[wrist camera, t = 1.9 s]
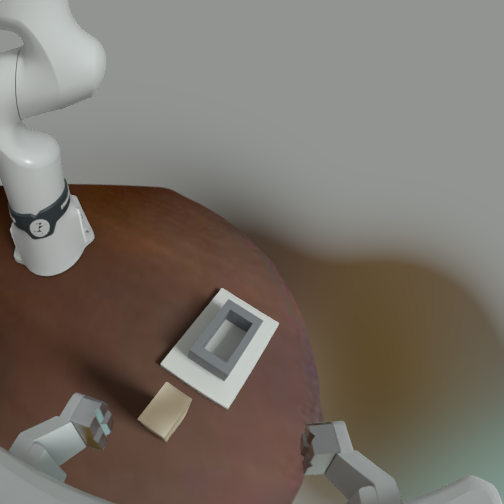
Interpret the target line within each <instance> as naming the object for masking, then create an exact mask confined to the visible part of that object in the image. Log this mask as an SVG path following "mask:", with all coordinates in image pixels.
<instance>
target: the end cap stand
mask: <svg viewBox="0 0 504 504" xmlns="http://www.w3.org/2000/svg"><path fill="white" fill-rule="evenodd" d="M278 325H279V323H278V322H276V321H275V320H273V319H271V318H270V317H268V316H266V315H265V314H263V313H262V312H260V311H258V310H257V309H255V308H253V307H252V306H250V305H249V304H247V303H245V302H244V301H242V300H241V299H239V298H237V297H236V296H234V295H233V294H231V293H229V292H228V291H226V290H225V289H223V288H221V290H220V291H219V292H218V293H217V295H216V296H215V297H214V298H213V299H212V301H211V302H210V303H209V304H208V306H207V307H206V308H205V309H204V311H203V312H202V313H201V314H200V315H199V317H198V318H197V319H196V320H195V322H194V323H193V324H192V325H191V327H190V328H189V329H188V330H187V332H186V333H185V334H184V335H183V336H182V338H181V339H180V340H179V341H178V343H177V344H176V345H175V346H174V348H173V349H172V350H171V351H170V352H169V354H168V355H167V356H166V357H165V359H164V360H163V361H162V362H161V364H160V366H161V367H163V368H164V369H165V370H167V371H168V372H170V373H171V374H172V375H174V376H175V377H177V378H178V379H179V380H181V381H182V382H184V383H185V384H187V385H188V386H190V387H191V388H193V389H194V390H196V391H197V392H199V393H200V394H202V395H204V396H205V397H207V398H208V399H210V400H211V401H213V402H215V403H216V404H218V405H220V406H221V407H223V408H225V409H226V410H227V409H228V408H229V406H230V405H231V403H232V402H233V400H234V399H235V397H236V395H237V394H238V392H239V391H240V389H241V387H242V386H243V384H244V383H245V381H246V379H247V378H248V376H249V374H250V373H251V371H252V369H253V368H254V366H255V364H256V363H257V361H258V359H259V358H260V356H261V354H262V353H263V351H264V349H265V347H266V346H267V344H268V342H269V341H270V339H271V337H272V335H273V334H274V332H275V330H276V328H277V327H278Z"/></svg>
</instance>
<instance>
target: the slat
mask: <svg viewBox="0 0 504 504" xmlns="http://www.w3.org/2000/svg"><path fill="white" fill-rule="evenodd" d="M191 401H192V399H191V398H190V397H188V396H187V395H185V394H184V393H182V392H181V391H179V390H178V389H176V388H175V387H173V386H172V385H171V384H169V383H168V382H166V383H165V384H164V386H163V387H162V388H161V389H160V391H159V392H158V393H157V395H156V396H155V397H154V398H153V400H152V401H151V402H150V404H149V405H148V406H147V407H146V409H145V410H144V411H143V412H142V414H141V415H140V416H139V418H138V420H139V421H140V422H141V423H142V424H143V425H144V426H145V427H146V428H147V429H148V430H150V431H151V432H152V433H154V434H155V435H157V436H158V437H160V438H161V439H163V440H164V441H165V442H167V440H168V439H169V438H170V436H171V435H172V434H173V432H174V431H175V430H176V428H177V427H178V425H179V424H180V423H181V421H182V420H183V419H184V417H185V415H186V413H187V410H188V408H189V406H190V403H191Z"/></svg>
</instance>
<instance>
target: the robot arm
mask: <svg viewBox="0 0 504 504" xmlns="http://www.w3.org/2000/svg"><path fill="white" fill-rule="evenodd" d="M0 29H1V30H7V31H12V32H14V33H16V34H18V35H19V36H20V37H21V38H22V40H23V42H24V45H23V46H21V47H19V48H16V49H12V50H9V51H6V52H3V53H1V54H0V178H1V181H2V184H3V186H4V189H5V192H6V195H7V198H8V208H9V213H10V216H11V218H12V220H13V222H12V226H11V228H10V232H11V235H12V238H13V241H14V243H15V246H16V247H15V251H14V258H15V261H16V262H18V263H21V264H24V265H25V266H26V267H27V268H28V269H29V270H30V271H31V272H33V273H35V274H37V275H41V276H52V275H56V274H59V273H61V272H64V271H65V270H67V269H69V268H70V267H71V266H72V265H74V264H75V263H76V261H77V260H78V259H79V258H80V256H81V254H82V252H83V250H84V249H85V247H86V246H87V245H88V244H90V243H91V242H92V241H93V240H94V238H95V236H94V233H93V230H92V228H91V226H90V224H89V222H88V220H87V218H86V216H85V214H84V212H83V210H82V208H81V205H80V203H79V201H78V199H77V197H76V196H73V195H71V194H70V192H69V188H68V185H67V182H66V180H65V178H64V175H63V169H62V162H61V153H60V148H59V145H58V143H57V142H56V140H55V139H54V138H53V137H51V136H50V135H49V134H47V133H44V132H41V131H36V130H32V129H30V128H28V127H26V126H25V125H24V124H23V123H22V122H21V120H22V119H25V118H28V117H31V116H35V115H39V114H42V113H46V112H50V111H54V110H58V109H62V108H65V107H67V106H70V105H73V104H75V103H78V102H80V101H82V100H85V99H87V98H90V97H92V95H93V94H94V93H95V92H96V91H97V89H98V87H99V86H100V85H101V83H102V81H103V78H104V75H105V72H106V63H107V61H106V54H105V51H104V49H103V47H102V45H101V43H100V42H99V41H98V40H97V39H96V38H95V37H93V36H91V35H89V34H88V33H87V32H85V31H84V30H83V29H82V28H81V27H80V26H79V25H78V24H77V23H76V21H75V19H74V18H73V16H72V14H71V11H70V8H69V4H68V0H0ZM86 232H87V233H86ZM108 408H109V406H108V404H107V402H104V401H101V400H98V399H94V398H91V397H88V396H85V395H82V394H79V393H75V394H73V396H72V397H71V399H70V400H69V402H68V403H67V405H66V407H65V408H64V410H63V411H62V413H61V415H60V416H59V417H58V416H55V417H53V418H51V419H49V420H47V421H45V422H43V423H41V424H39V425H37V426H34V427H32V428H30V429H28V430H26V431H23V432H21V433H20V434H19V436H18V437H17V439H16V440H15V442H14V443H13V445H12V447H11V448H10V450H9V452H8V451H7V450H5V449H4V448H2V447H1V446H0V504H116V503H113V502H110V501H107V500H104V499H101V498H99V497H96V496H93V495H91V494H88V493H86V492H83V491H81V490H79V489H76V488H74V487H72V486H69V485H67V484H65V483H64V481H65V478H66V473H65V472H64V471H63V470H62V469H61V467H60V465H61V464H63V463H64V462H66V461H67V460H68V459H70V458H71V457H73V456H74V455H76V454H77V453H78V452H80V451H81V450H83V449H84V448H85V447H86V446H88V447H92V448H95V449H98V450H101V451H103V449H104V447H105V445H106V443H107V437H106V435H108V434H109V433H111V431H112V428H113V422H114V421H113V416H112V414H111V413H110V412H109V411H108ZM304 429H305V433H304V434H302V437H301V443H300V449H301V455H303V456H304V457H305V458H304V460H303V462H302V464H303V471H304V475H314V474H324V475H325V476H326V477H327V478H328V479H329V480H330V481H331V483H332V484H334V486H335V487H336V488H337V489H338V490H339V491H340V492H341V493H342V494H343V495H344V496H345V497H346V498H347V499H348V500H349V501H348V502H347V503H346V504H503V503H502V501H501V498H500V496H499V494H498V491H497V490H496V488H495V487H494V486H493V485H492V484H490V483H489V482H487V481H485V480H483V479H481V478H478V477H476V476H473V475H468V476H465V477H463V478H461V479H459V480H457V481H455V482H453V483H451V484H448V485H446V486H444V487H442V488H440V489H437V490H435V491H433V492H430V493H428V494H425V495H423V496H420V497H417V498H415V499H412V500H409V501H406V502H403V503H402V500H401V497H400V494H399V491H398V488H397V485H396V482H395V479H394V478H392V477H390V476H389V475H388V474H387V473H385V472H384V471H383V470H381V469H380V468H378V467H377V466H376V465H375V464H373V463H372V462H371V461H369V460H368V459H367V458H366V457H364V456H363V455H361V454H360V453H359V452H358V451H353V448H352V445H351V441H350V438H349V435H348V432H347V429H346V425H345V423H344V421H336V422H321V423H307V424H306V426H305V428H304Z"/></svg>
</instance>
